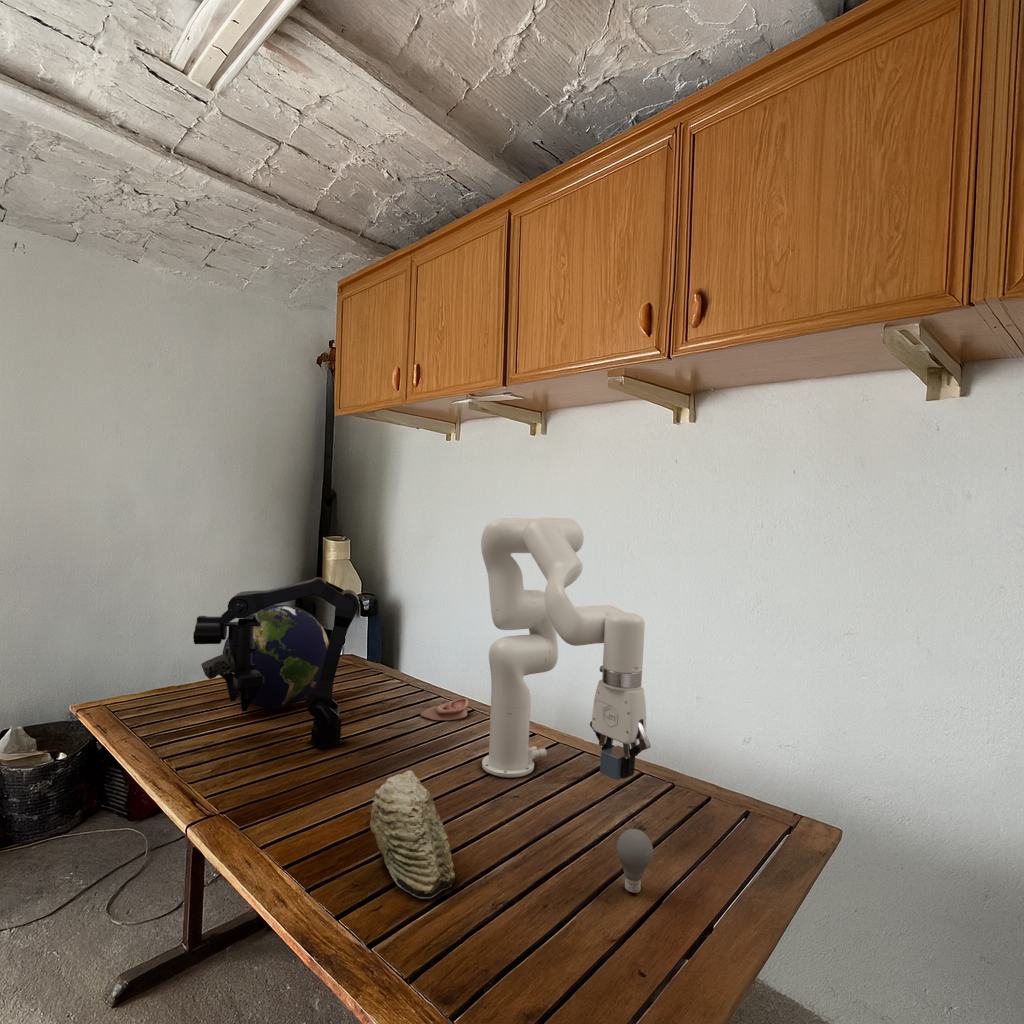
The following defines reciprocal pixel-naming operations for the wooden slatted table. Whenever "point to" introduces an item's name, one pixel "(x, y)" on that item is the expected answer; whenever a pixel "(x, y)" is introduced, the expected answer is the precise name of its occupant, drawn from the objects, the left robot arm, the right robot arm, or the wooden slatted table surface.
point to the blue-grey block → (612, 762)
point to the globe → (286, 654)
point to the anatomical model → (447, 710)
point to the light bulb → (634, 857)
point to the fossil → (412, 836)
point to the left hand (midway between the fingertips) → (238, 706)
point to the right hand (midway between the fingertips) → (617, 770)
